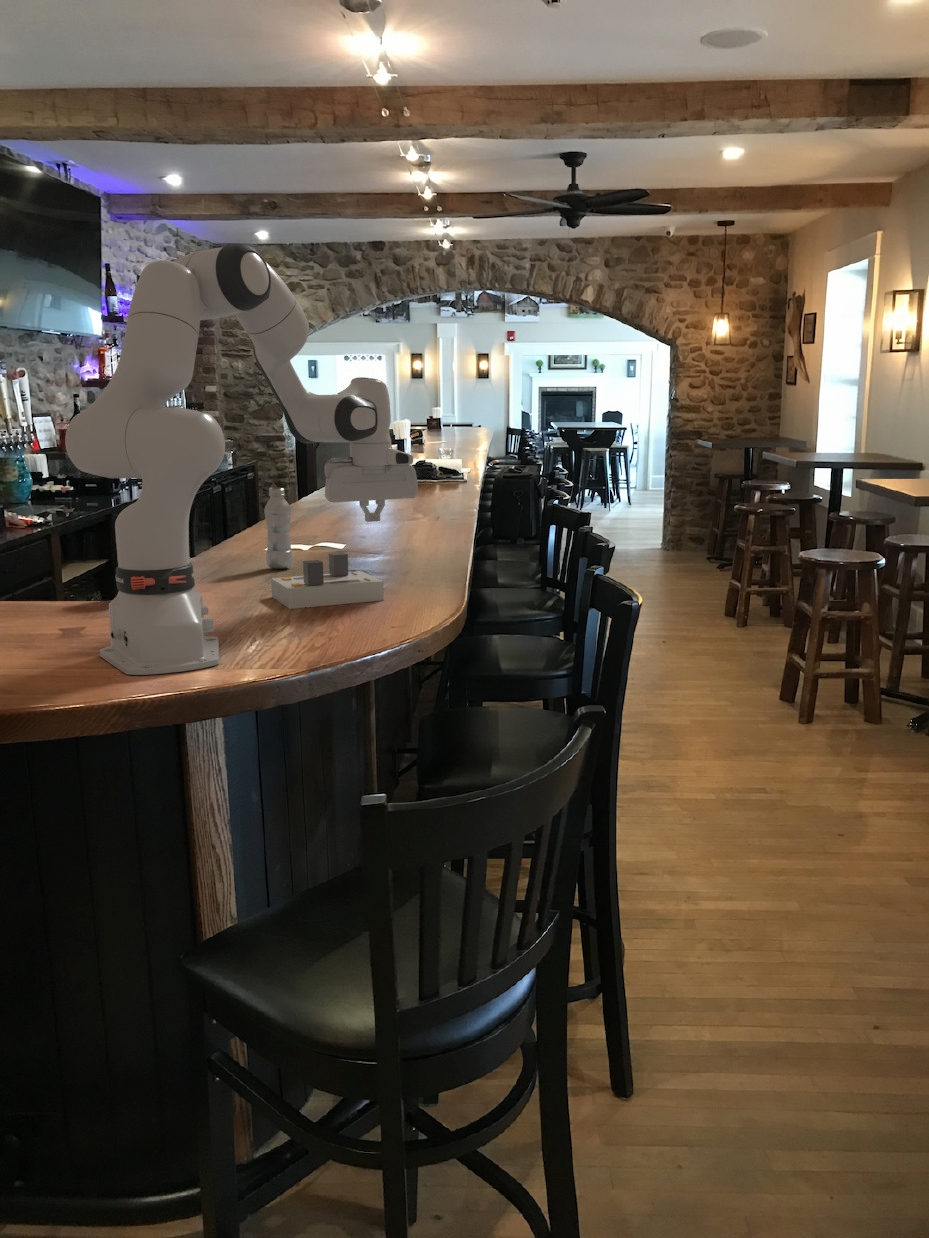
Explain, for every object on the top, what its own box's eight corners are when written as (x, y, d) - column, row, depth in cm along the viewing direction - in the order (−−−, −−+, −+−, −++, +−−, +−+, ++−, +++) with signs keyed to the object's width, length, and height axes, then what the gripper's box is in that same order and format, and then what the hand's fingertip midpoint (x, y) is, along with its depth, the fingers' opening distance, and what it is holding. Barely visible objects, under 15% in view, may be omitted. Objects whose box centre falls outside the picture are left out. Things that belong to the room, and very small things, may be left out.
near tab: (323, 584, 189) (322, 562, 188) (308, 585, 188) (307, 563, 187) (318, 581, 192) (318, 559, 191) (303, 582, 191) (302, 561, 190)
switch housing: (383, 600, 194) (383, 579, 193) (289, 608, 186) (288, 587, 185) (361, 589, 207) (360, 569, 206) (271, 596, 198) (271, 576, 197)
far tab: (348, 575, 200) (347, 554, 199) (334, 576, 198) (333, 555, 197) (343, 572, 203) (342, 552, 202) (329, 573, 201) (328, 553, 200)
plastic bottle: (265, 567, 236) (261, 487, 231) (292, 566, 238) (288, 487, 233) (267, 571, 230) (263, 489, 225) (295, 570, 232) (291, 489, 227)
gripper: (328, 458, 191) (331, 526, 195) (420, 455, 200) (421, 520, 203) (319, 457, 197) (322, 522, 200) (408, 454, 206) (410, 517, 209)
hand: (372, 521), depth 202 cm, fingers closed
